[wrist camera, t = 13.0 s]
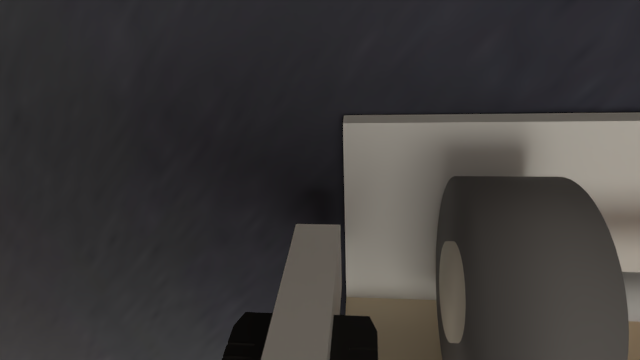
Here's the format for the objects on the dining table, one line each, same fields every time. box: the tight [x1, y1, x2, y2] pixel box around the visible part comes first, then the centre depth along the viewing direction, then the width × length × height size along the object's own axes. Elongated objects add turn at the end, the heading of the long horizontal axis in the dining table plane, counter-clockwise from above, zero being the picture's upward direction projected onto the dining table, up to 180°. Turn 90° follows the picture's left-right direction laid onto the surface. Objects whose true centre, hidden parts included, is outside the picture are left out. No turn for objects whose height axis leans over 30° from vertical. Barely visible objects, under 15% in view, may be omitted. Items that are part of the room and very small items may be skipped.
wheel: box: [436, 176, 640, 360], centre depth 13 cm, size 8×7×7 cm
